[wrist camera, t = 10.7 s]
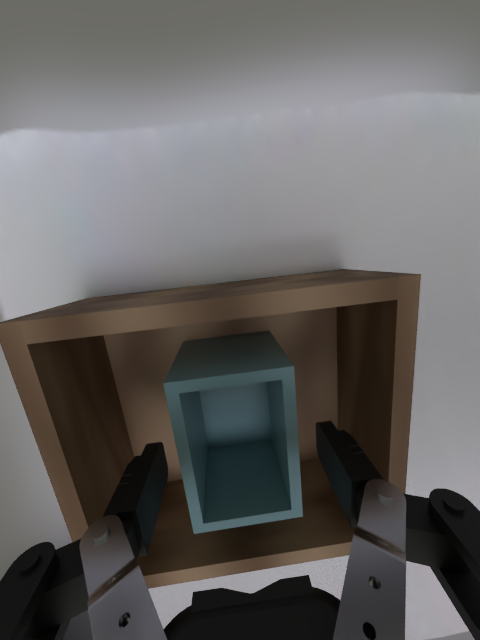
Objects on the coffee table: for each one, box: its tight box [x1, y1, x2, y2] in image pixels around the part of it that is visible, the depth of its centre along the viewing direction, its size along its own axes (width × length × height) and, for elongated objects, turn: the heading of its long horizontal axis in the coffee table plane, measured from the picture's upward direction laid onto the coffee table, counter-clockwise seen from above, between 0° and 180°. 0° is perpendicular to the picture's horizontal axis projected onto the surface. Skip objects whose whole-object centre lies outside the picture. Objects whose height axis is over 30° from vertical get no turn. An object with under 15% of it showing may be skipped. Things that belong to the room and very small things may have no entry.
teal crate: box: [163, 330, 303, 534], centre depth 15 cm, size 6×9×6 cm, turn 6°
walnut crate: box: [0, 269, 421, 588], centre depth 16 cm, size 18×16×7 cm
